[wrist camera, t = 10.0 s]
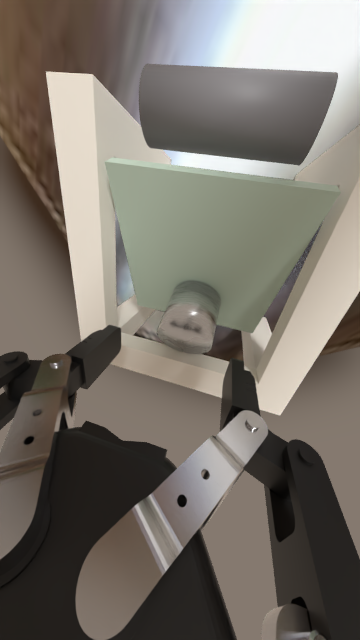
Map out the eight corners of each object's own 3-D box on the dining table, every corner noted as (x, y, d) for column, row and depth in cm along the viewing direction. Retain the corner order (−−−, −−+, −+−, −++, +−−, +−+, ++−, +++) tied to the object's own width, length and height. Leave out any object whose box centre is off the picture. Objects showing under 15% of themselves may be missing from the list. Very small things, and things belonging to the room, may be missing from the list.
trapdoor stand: (149, 156, 24) (46, 71, 11) (323, 178, 21) (483, 96, 8) (141, 304, 34) (83, 355, 21) (259, 333, 31) (279, 415, 18)
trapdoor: (129, 63, 12) (81, 60, 9) (370, 74, 10) (414, 75, 7) (153, 277, 26) (137, 305, 23) (254, 300, 24) (252, 333, 21)
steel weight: (225, 286, 17) (216, 333, 14) (216, 318, 21) (207, 358, 18) (172, 275, 18) (154, 317, 15) (173, 308, 22) (159, 345, 19)
